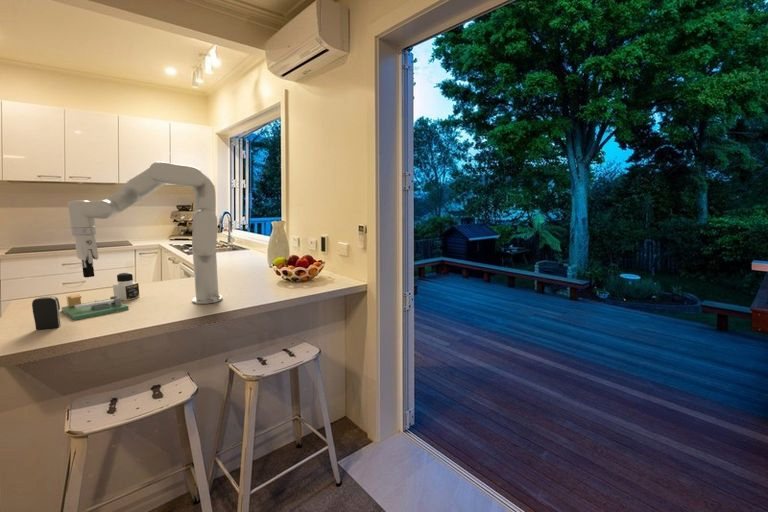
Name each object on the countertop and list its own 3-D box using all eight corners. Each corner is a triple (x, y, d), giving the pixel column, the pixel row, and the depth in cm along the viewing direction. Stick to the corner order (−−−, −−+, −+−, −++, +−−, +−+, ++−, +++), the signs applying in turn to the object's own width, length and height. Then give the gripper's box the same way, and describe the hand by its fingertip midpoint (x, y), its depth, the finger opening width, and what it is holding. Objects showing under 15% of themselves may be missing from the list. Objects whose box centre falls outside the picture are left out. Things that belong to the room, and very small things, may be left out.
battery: (63, 324, 138) (59, 294, 137) (59, 328, 135) (55, 297, 133) (39, 327, 136) (35, 296, 134) (34, 330, 132) (30, 299, 131)
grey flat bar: (119, 302, 158) (118, 298, 158) (77, 309, 147) (76, 305, 147) (116, 300, 160) (116, 297, 160) (74, 307, 149) (74, 304, 149)
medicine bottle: (127, 301, 170) (124, 275, 168) (113, 300, 172) (111, 274, 170) (140, 297, 177) (137, 272, 175) (127, 296, 179) (124, 271, 177)
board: (128, 309, 158) (127, 298, 157) (74, 320, 144) (73, 308, 143) (112, 301, 169) (111, 291, 168) (61, 310, 155) (60, 299, 154)
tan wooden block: (84, 306, 155) (82, 296, 155) (71, 308, 152) (70, 298, 152) (79, 303, 159) (78, 293, 159) (67, 305, 156) (66, 295, 155)
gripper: (101, 232, 146) (106, 277, 149) (89, 229, 155) (94, 272, 158) (77, 233, 140) (83, 281, 143) (66, 231, 149) (71, 275, 152)
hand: (89, 276), depth 151 cm, fingers closed
